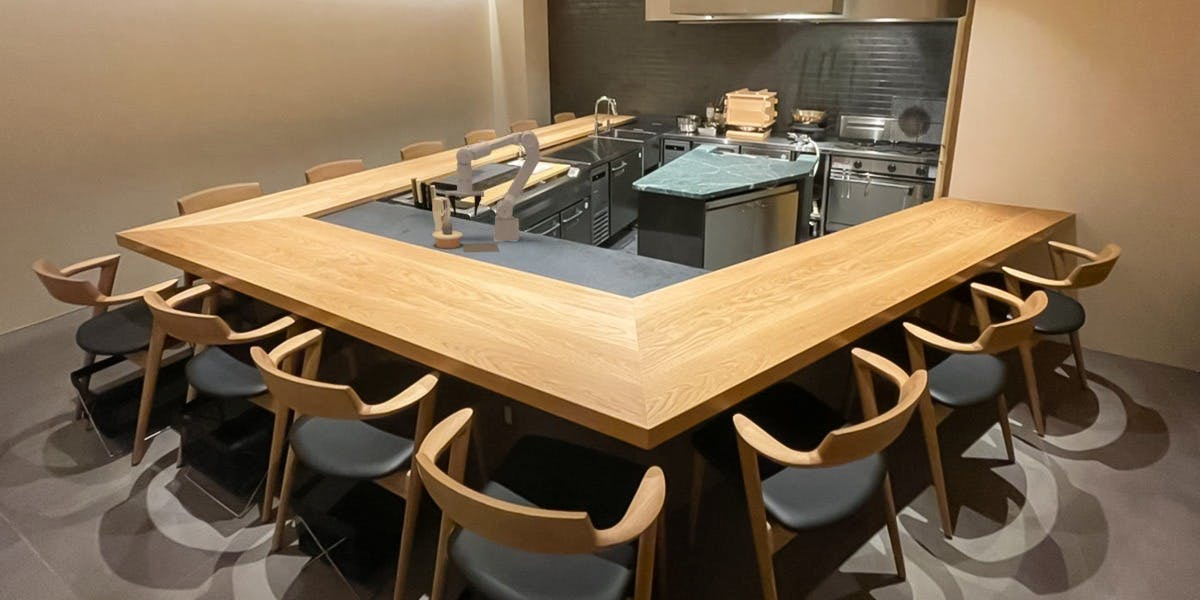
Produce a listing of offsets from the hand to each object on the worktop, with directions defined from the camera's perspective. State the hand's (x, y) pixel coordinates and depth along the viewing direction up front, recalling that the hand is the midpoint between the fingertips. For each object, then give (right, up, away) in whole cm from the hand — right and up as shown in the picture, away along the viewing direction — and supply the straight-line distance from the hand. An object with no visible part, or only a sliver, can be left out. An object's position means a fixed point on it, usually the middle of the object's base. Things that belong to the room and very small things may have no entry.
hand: (465, 215), depth 261 cm
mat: (+8, -14, -9) cm, 18 cm away
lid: (-5, -9, -9) cm, 14 cm away
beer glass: (-11, -7, +8) cm, 16 cm away
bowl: (-5, -13, -8) cm, 16 cm away
